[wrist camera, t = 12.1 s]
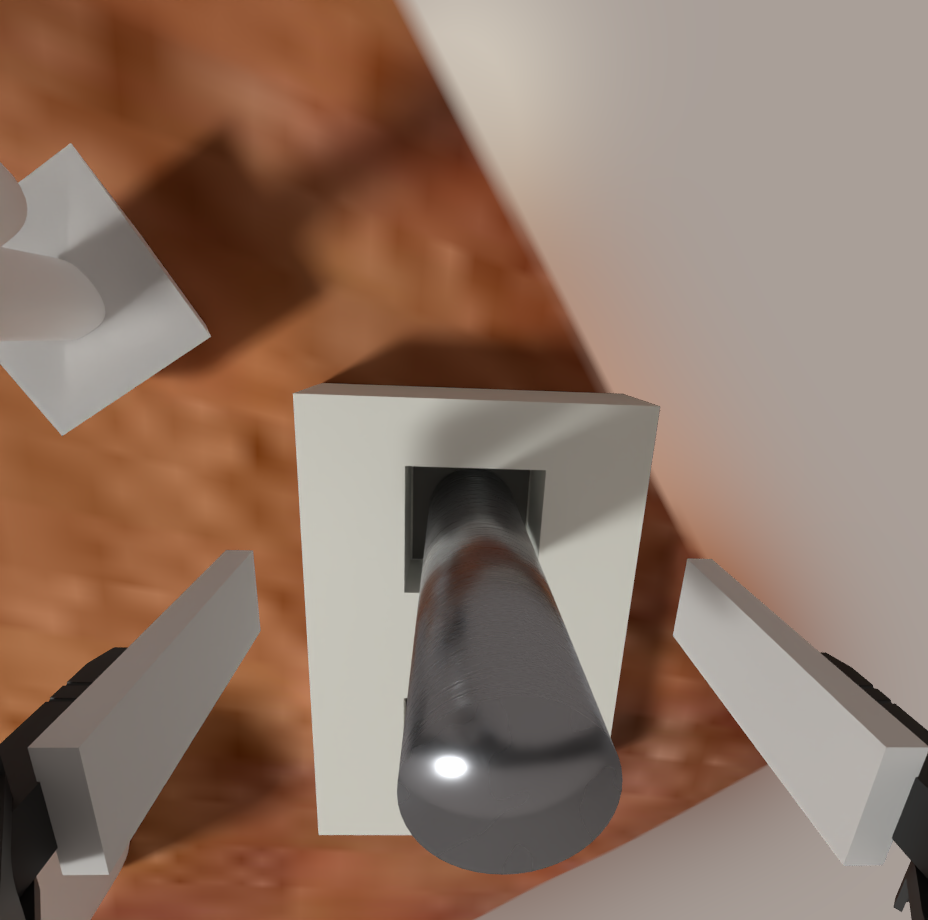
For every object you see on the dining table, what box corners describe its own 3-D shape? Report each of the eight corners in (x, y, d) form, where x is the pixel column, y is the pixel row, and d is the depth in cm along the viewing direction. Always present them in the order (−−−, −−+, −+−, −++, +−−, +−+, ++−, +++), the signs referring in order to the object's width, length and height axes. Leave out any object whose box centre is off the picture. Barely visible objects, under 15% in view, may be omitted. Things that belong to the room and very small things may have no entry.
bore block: (322, 383, 21) (293, 393, 17) (622, 393, 22) (660, 406, 18) (337, 762, 27) (318, 834, 23) (575, 764, 27) (595, 835, 23)
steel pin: (430, 466, 21) (396, 696, 8) (516, 468, 21) (636, 698, 8) (428, 546, 22) (396, 875, 9) (511, 547, 22) (608, 873, 9)
